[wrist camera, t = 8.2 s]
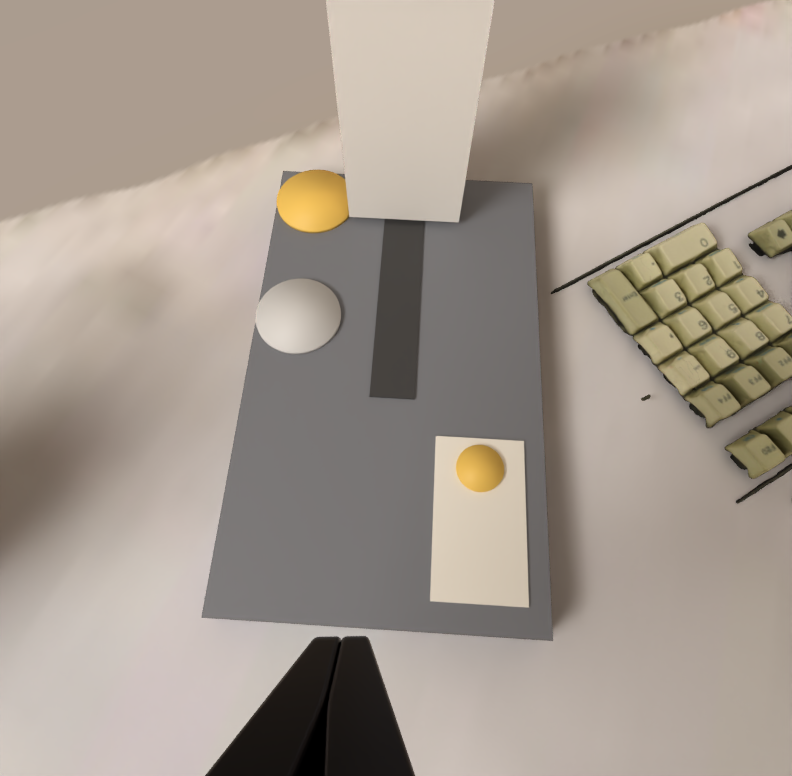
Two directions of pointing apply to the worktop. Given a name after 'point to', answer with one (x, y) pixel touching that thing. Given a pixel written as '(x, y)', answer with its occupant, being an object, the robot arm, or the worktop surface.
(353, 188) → the lever
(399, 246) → the switch panel
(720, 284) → the keyboard
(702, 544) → the worktop surface
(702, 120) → the worktop surface
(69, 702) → the worktop surface
